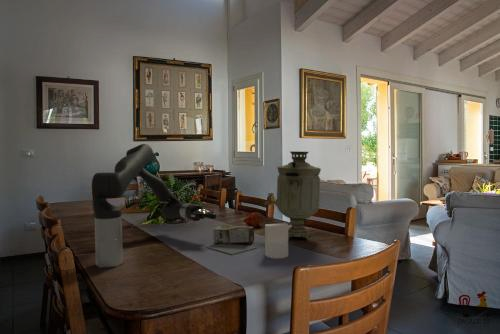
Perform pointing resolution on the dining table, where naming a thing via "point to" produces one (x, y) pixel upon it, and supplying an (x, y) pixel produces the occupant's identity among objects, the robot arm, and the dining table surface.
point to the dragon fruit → (254, 219)
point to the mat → (231, 248)
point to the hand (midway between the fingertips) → (214, 216)
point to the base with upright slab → (276, 240)
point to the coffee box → (234, 235)
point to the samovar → (297, 193)
